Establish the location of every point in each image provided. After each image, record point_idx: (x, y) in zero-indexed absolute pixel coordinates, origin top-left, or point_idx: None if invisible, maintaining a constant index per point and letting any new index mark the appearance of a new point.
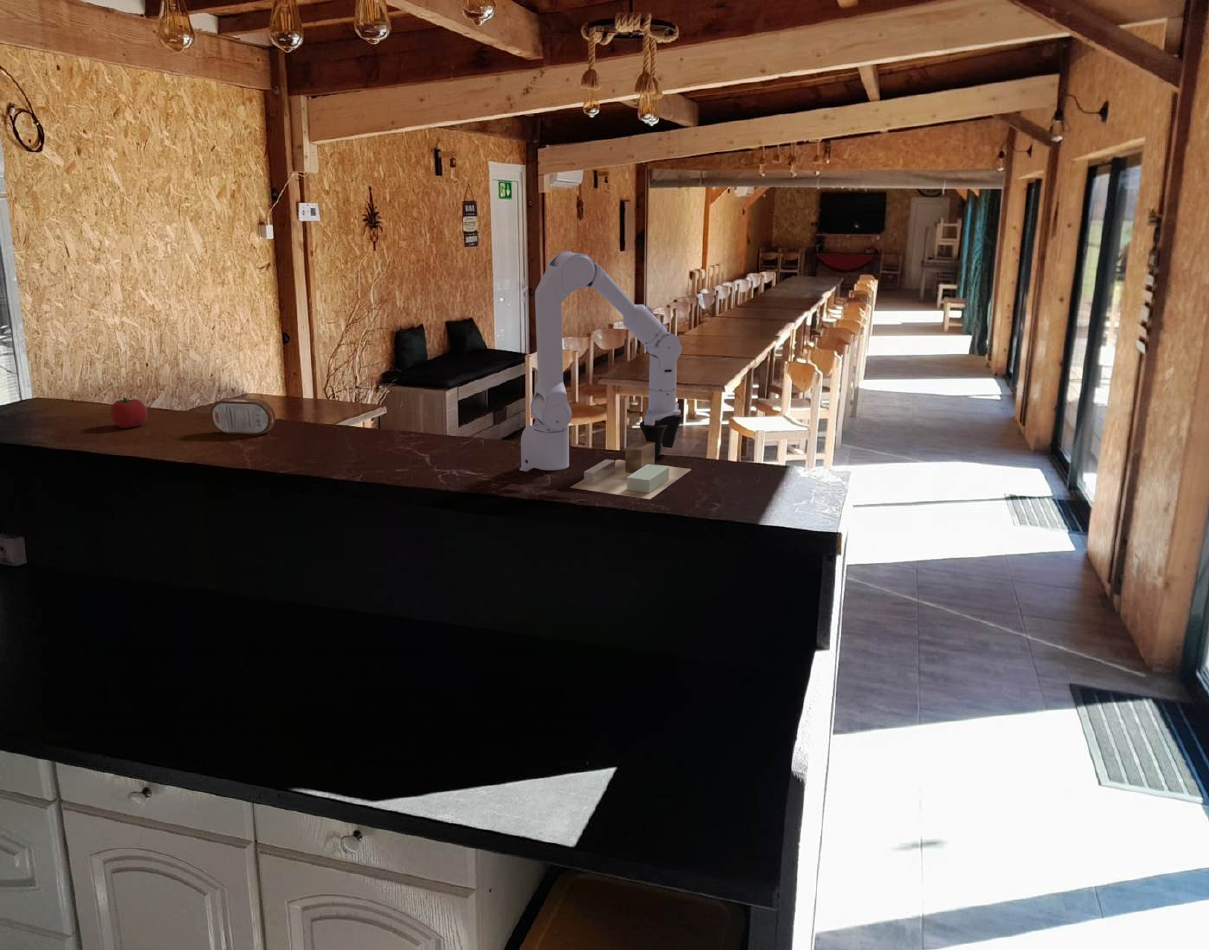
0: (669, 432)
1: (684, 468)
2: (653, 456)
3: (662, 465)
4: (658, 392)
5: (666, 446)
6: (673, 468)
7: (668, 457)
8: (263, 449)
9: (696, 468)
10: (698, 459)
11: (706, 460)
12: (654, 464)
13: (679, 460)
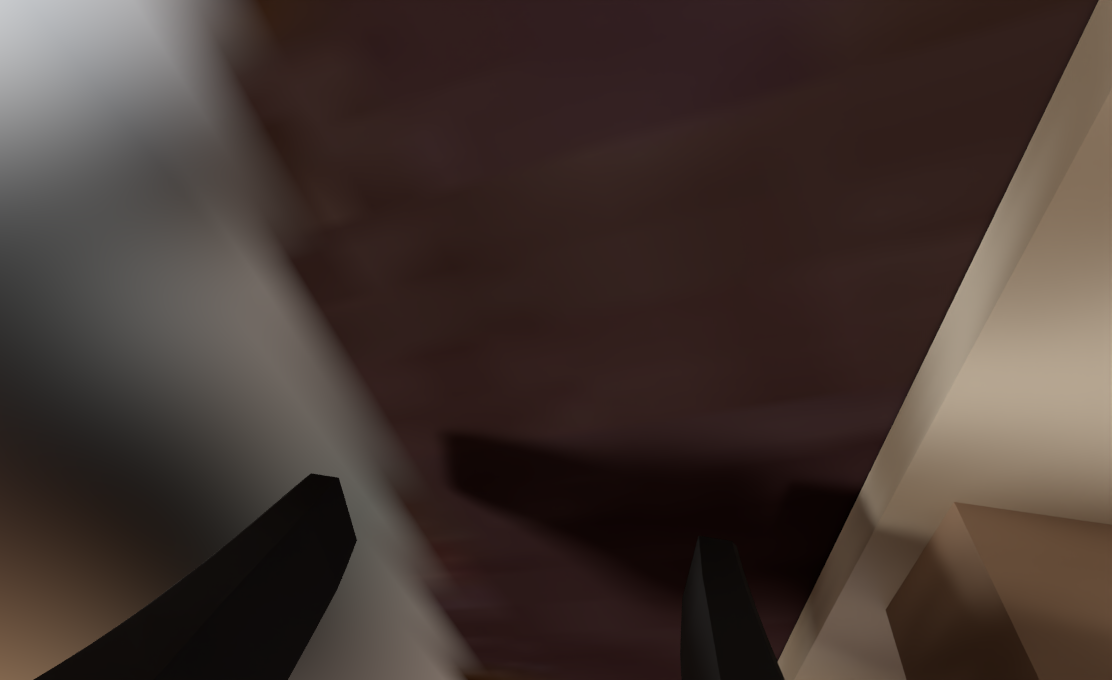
0: (231, 662)
1: (1096, 141)
2: (1060, 626)
3: (924, 438)
4: None
5: (345, 523)
6: (1090, 298)
7: (406, 426)
8: None
9: (712, 19)
10: (281, 137)
11: (250, 15)
12: (962, 515)
13: (445, 322)
